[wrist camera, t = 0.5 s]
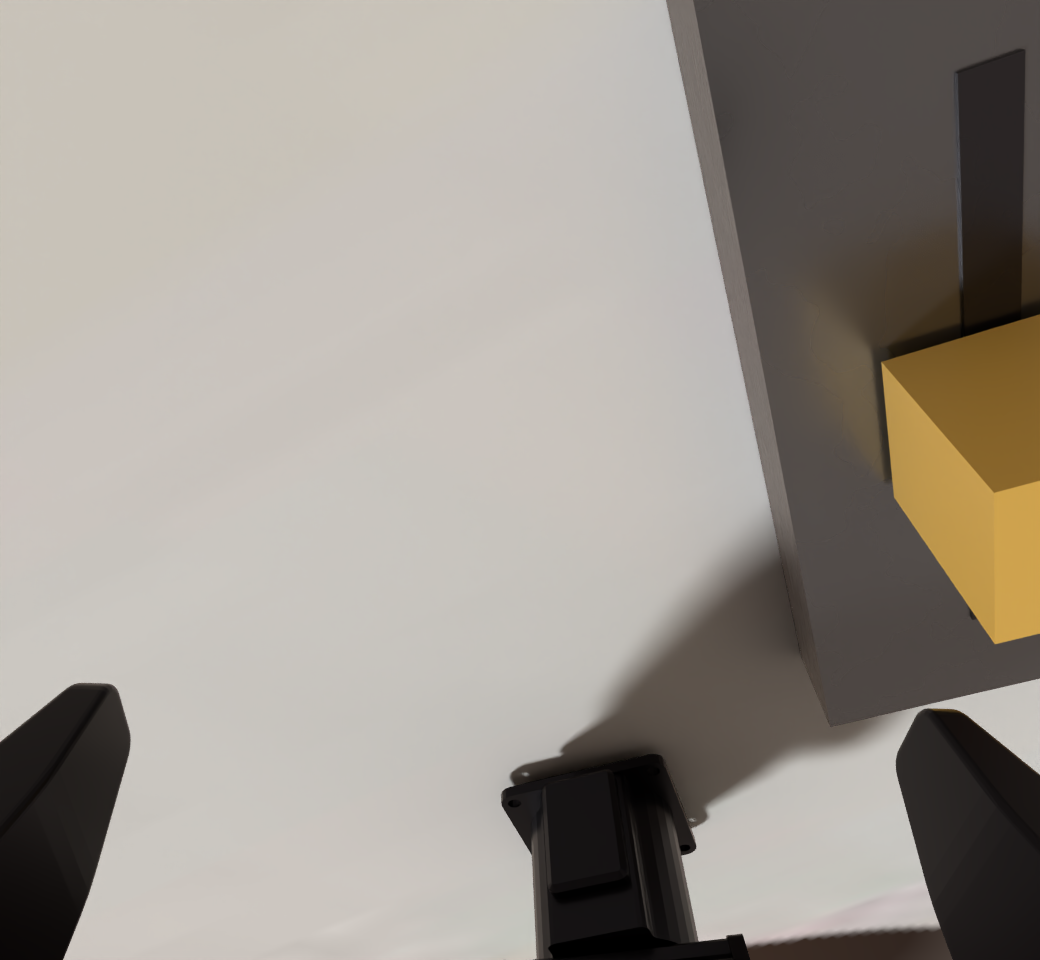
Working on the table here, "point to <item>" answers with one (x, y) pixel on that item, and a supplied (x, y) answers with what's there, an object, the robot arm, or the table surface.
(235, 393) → the table surface
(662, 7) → the table surface
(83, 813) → the robot arm
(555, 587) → the table surface
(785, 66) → the power box
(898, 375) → the handle
